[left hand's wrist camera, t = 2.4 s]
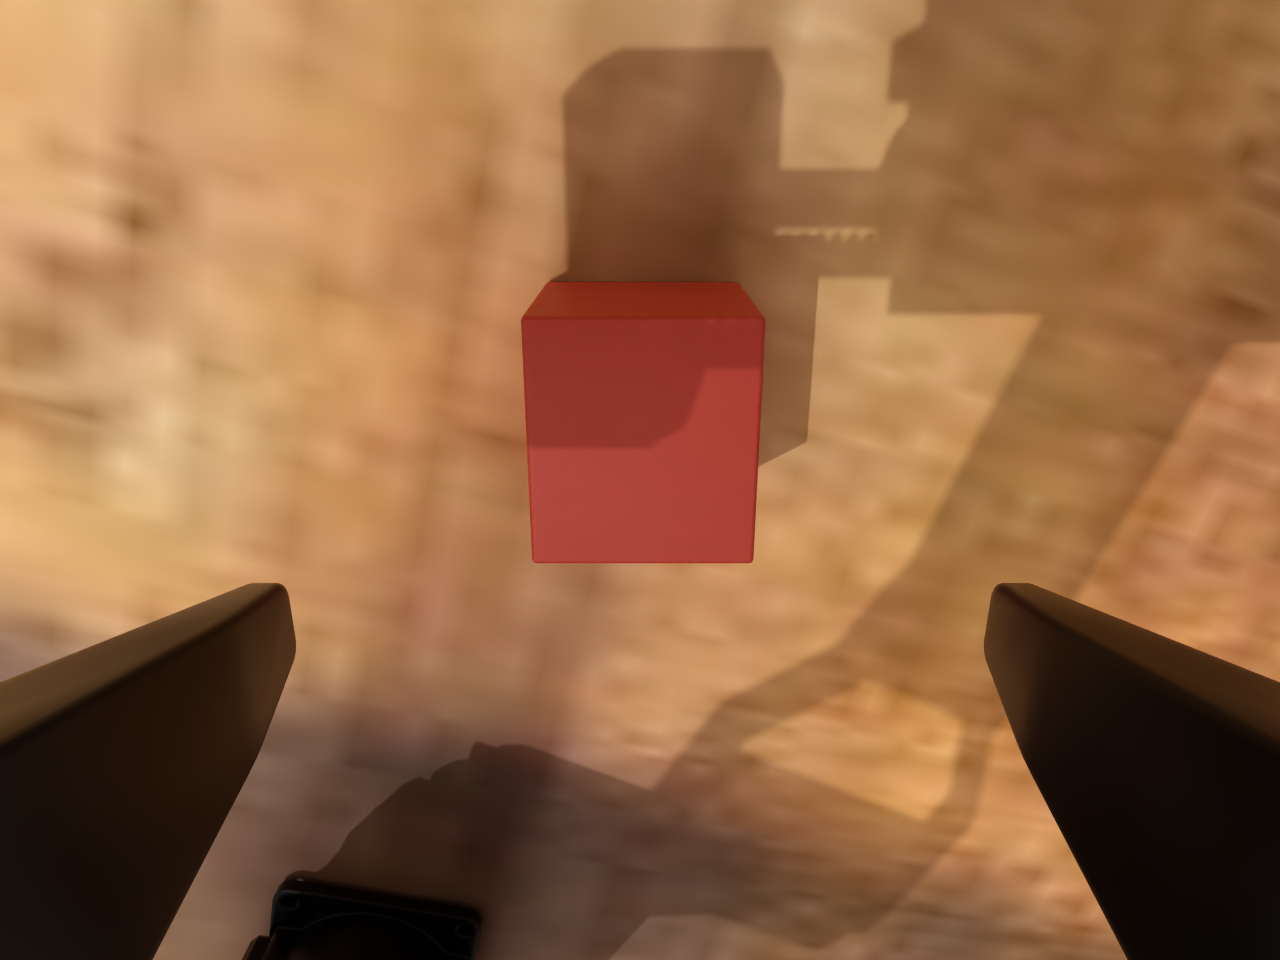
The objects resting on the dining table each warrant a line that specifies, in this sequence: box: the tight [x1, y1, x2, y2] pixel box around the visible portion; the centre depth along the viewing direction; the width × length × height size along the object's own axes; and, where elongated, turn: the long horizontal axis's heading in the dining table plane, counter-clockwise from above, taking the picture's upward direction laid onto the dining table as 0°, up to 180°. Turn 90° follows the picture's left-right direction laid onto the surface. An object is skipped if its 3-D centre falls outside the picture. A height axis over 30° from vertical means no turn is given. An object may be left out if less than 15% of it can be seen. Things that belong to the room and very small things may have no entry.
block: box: [521, 282, 765, 563], centre depth 20 cm, size 5×5×5 cm
